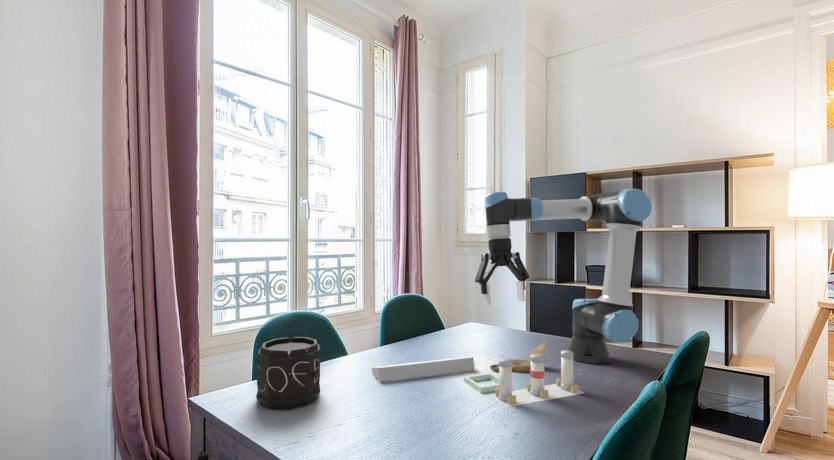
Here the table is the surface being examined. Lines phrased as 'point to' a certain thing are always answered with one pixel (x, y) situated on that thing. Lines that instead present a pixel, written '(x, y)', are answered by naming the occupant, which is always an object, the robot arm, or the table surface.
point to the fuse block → (525, 397)
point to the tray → (482, 389)
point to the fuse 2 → (567, 369)
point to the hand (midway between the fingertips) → (504, 302)
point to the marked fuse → (537, 374)
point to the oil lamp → (522, 361)
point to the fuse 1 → (505, 379)
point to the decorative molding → (423, 369)
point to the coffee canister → (288, 373)
